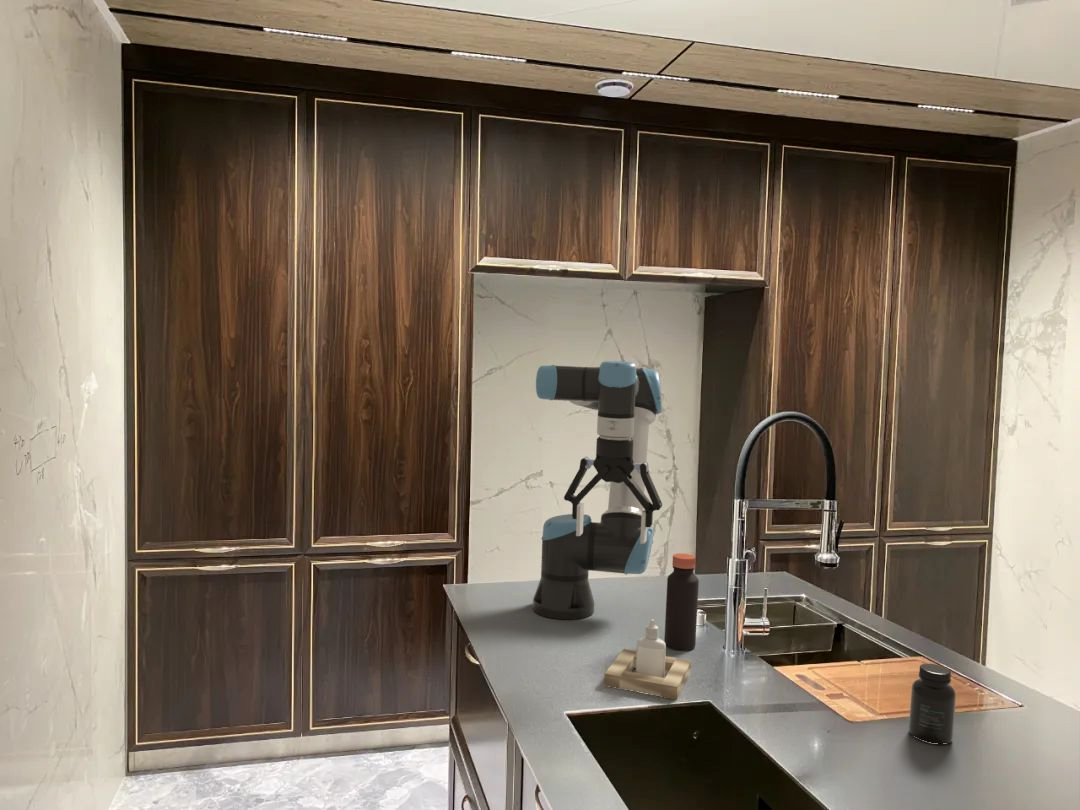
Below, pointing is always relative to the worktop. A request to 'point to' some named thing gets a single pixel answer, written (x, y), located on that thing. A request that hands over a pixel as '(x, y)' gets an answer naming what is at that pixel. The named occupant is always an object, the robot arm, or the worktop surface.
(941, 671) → the supplement bottle
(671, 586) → the vinegar
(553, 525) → the robot arm
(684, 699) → the worktop surface
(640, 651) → the eye dropper bottle
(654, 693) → the square wooden frame
